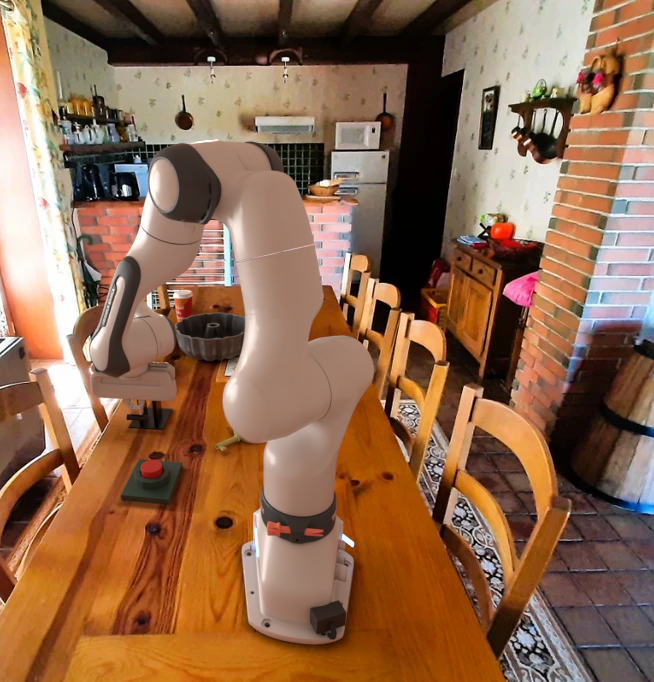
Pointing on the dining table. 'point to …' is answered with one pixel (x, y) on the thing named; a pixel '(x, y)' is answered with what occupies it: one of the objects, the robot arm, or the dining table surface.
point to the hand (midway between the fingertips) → (136, 413)
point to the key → (230, 441)
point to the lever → (137, 416)
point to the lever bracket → (153, 417)
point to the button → (151, 469)
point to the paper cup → (183, 304)
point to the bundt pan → (211, 335)
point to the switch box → (152, 484)
